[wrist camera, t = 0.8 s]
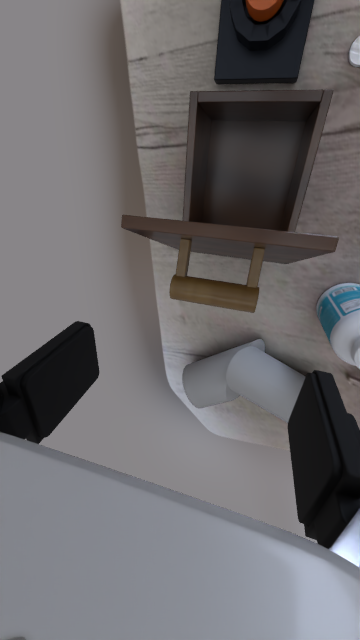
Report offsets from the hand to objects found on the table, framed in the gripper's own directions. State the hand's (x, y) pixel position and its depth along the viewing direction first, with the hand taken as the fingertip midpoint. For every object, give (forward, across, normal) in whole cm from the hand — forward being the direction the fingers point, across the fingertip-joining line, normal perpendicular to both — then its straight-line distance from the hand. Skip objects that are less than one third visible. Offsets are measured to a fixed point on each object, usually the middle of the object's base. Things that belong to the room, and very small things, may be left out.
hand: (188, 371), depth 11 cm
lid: (+14, 0, -3) cm, 15 cm away
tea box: (+31, 0, -8) cm, 32 cm away
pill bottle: (+31, -17, +8) cm, 36 cm away
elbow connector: (+31, -7, +24) cm, 40 cm away
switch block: (+31, +1, -23) cm, 38 cm away
